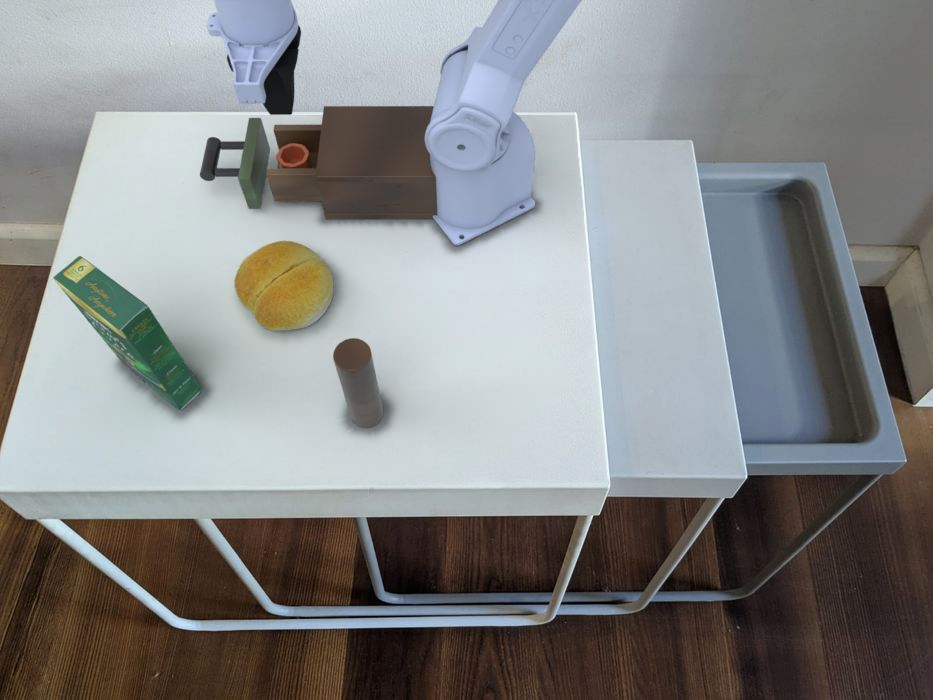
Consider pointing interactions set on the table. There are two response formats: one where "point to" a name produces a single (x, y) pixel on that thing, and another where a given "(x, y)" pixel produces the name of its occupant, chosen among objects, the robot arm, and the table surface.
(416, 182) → the cabinet
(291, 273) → the bread roll
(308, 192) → the drawer
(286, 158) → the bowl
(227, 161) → the table surface
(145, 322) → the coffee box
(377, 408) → the post stand
